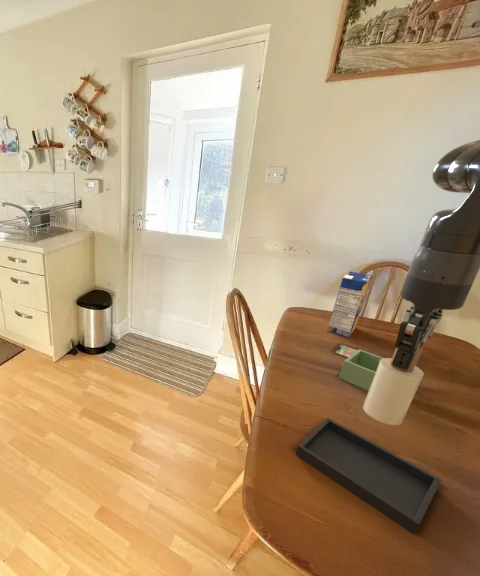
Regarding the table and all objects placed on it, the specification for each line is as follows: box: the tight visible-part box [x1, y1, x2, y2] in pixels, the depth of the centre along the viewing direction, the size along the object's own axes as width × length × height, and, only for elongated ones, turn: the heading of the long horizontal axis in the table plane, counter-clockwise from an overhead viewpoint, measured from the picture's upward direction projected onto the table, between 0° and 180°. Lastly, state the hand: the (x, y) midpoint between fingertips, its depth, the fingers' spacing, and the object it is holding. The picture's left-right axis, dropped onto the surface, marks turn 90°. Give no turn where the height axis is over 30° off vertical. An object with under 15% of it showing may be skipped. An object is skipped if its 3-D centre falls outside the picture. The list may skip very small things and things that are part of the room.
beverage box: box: [326, 270, 374, 339], centre depth 118 cm, size 7×11×22 cm, turn 132°
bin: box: [338, 348, 384, 392], centre depth 91 cm, size 11×11×7 cm
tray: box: [295, 417, 442, 535], centre depth 65 cm, size 20×15×3 cm
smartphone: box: [333, 344, 359, 359], centre depth 102 cm, size 8×15×1 cm, turn 41°
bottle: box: [362, 341, 425, 426], centre depth 59 cm, size 6×6×16 cm
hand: (403, 363), depth 57 cm, fingers closed on bottle, 3 cm apart
